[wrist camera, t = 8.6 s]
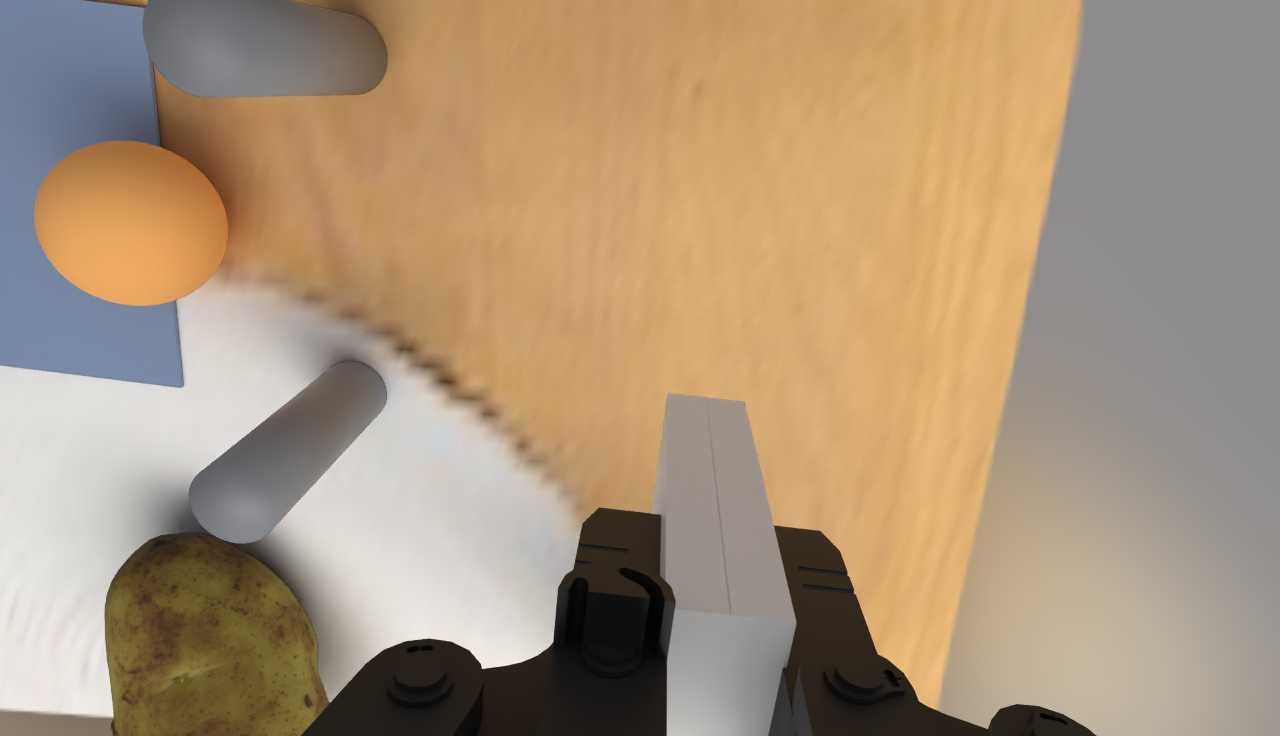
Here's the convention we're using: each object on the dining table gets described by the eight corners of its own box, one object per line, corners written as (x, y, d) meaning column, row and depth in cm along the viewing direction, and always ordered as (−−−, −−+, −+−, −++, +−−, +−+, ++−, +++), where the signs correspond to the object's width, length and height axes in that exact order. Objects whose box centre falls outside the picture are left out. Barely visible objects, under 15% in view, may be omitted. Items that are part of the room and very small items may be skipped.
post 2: (323, 417, 31) (192, 537, 23) (321, 357, 31) (185, 459, 22) (386, 425, 31) (278, 548, 23) (386, 365, 31) (275, 470, 22)
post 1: (313, 90, 27) (148, 90, 19) (311, 9, 26) (136, -29, 18) (387, 98, 27) (255, 103, 19) (387, 18, 26) (248, -16, 18)
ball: (251, 287, 30) (93, 277, 29) (243, 142, 28) (74, 126, 27) (204, 331, 25) (11, 321, 24) (190, 158, 23) (-20, 139, 22)
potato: (335, 510, 33) (233, 634, 25) (378, 744, 37) (302, 909, 30) (147, 510, 33) (-7, 632, 26) (211, 741, 38) (95, 903, 30)
